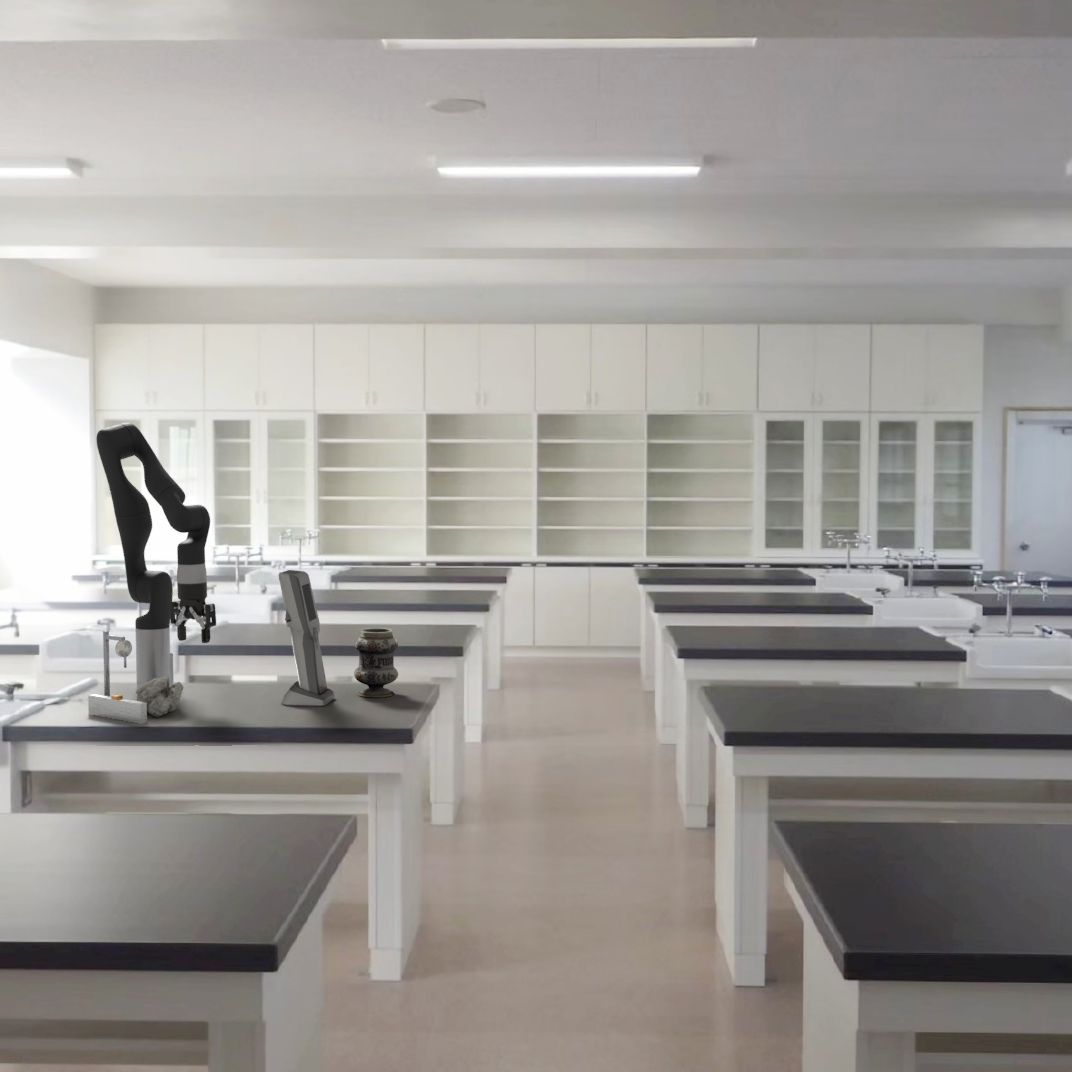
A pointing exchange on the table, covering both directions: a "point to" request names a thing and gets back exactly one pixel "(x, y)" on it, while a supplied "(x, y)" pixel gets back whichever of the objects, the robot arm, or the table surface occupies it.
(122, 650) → the dial indicator stand
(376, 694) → the apothecary jar
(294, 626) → the thermal camera
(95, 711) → the rail
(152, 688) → the mineral
